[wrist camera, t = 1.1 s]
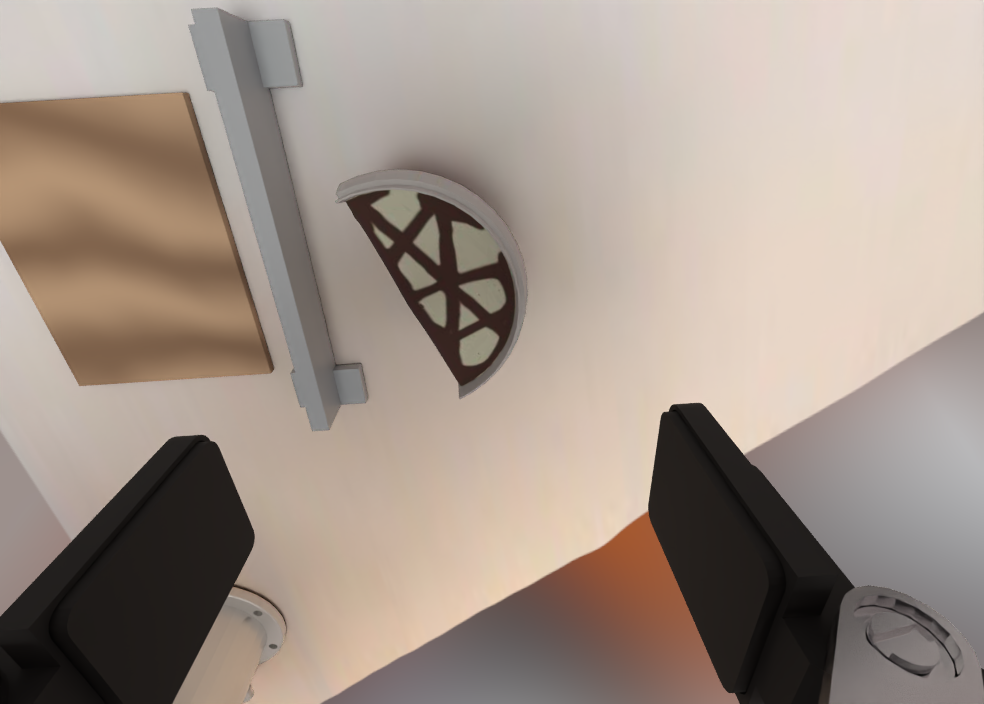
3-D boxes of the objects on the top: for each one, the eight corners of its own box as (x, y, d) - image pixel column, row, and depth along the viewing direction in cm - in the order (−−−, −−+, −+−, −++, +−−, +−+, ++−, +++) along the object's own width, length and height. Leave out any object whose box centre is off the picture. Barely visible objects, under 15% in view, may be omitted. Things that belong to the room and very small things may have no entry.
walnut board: (274, 369, 34) (271, 373, 33) (85, 381, 34) (79, 385, 33) (188, 93, 26) (182, 92, 25) (-61, 108, 26) (-72, 107, 25)
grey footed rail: (368, 397, 35) (356, 428, 32) (304, 401, 35) (285, 432, 32) (289, 22, 24) (258, 5, 21) (196, 27, 24) (149, 11, 21)
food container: (543, 294, 32) (571, 360, 23) (466, 330, 33) (464, 407, 24) (461, 118, 27) (456, 116, 18) (373, 168, 28) (327, 189, 19)
